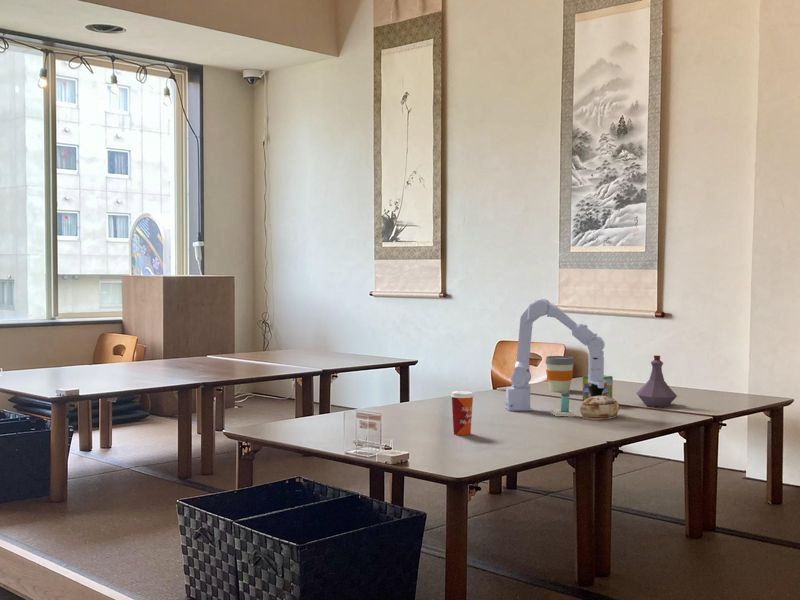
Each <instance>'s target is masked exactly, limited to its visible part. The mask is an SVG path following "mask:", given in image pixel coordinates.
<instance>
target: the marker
mask: <svg viewBox="0 0 800 600" xmlns="http://www.w3.org/2000/svg"><path fill="white" fill-rule="evenodd" d="M560 393H561V397H560V410H561V412H569V410H570V396H571V394H570V393H571V392H560Z"/></svg>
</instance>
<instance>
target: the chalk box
mask: <svg viewBox="0 0 800 600" xmlns="http://www.w3.org/2000/svg"><path fill="white" fill-rule="evenodd" d="M613 378H614V377H613V376H612V375H605V374H604V380H606V381H607V382H606V383H604V390H603V392H602V394H601V396H608V397H611V398H613V382H614V380H613ZM591 385H592V384H591V383H588V375H582V402H583V401H584V400H586V399H587V398H589V397H591V395H590V392H589V389H588V387H587V386H591Z"/></svg>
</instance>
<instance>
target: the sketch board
mask: <svg viewBox="0 0 800 600" xmlns="http://www.w3.org/2000/svg"><path fill="white" fill-rule="evenodd" d="M549 413H550V414H551V415H552V414H553V415H552V416H554V415H555V416H568V417H575V413H574V412H573V411H571V410H570V409H569V412H561V409H550V411H549ZM555 416H554V417H555Z"/></svg>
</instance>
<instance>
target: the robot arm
mask: <svg viewBox="0 0 800 600" xmlns="http://www.w3.org/2000/svg"><path fill="white" fill-rule="evenodd" d="M545 316H546V317H547V318H549V317H550V318H555V319H556V320H558V321H559V322H560V323H562V324H563V325H564V326H565V327H566V328H568V329H569V330H571V333H572V334H571V335H572V337H574V338H575V339H576V340H578V341H579V342H580V343H581V344H582V345H583V346H587V349H588V367H587V368H588V372H587V373H588V383H591V384H592V385H591V386H587V387H588V389H589V392H590V395H591V397H593V396H601V394H602V392H603V390H604V383H606V382H607V381H606V380H604V375H605V374H604V372H605V371H604V370H605V367H604V366H605V356H604V348H605V346H606V345H605V344H606V343H605V341H604V339H603V338H602V337H600V336H598V333H594V332H593V331H592V330H591V329H589V328H588V327H589V326H588V325H587V324H583V323H577V322H575V321H574V319H572V318H571V317H570V316H569V315H568V314H566V313H565V312H564V311H563V310H561V309H560V308H559V307H558V306H556V304H554V303H551V302H550V301H549V300H548V299H545V298H541V299H538V300H535V301H533V302H531V303H529V306H528V307H527V308H526V309H525V311H524V312H523V313H522V314H521V316H520V319H519V330H518V341H517V350H516V351H517V352H516V361H515V365H514V370H513V373H512V374H511V376H510V381H511V383H512V384H511V386H507V387H505V406H504V407H505V409H506V410H507V411H509V412H512V411H513V412H515V411H516V412H517V411H525V412H526V411H531V412H533V410H534V409H533V408H532V407H531V384H530V381H531V380H532V374H531V372H530V367H531V366H530V357H531V356H530V355H531V343H532V333H533V323H534V322H536V321H537V320H538V319H540V318H541V317H545Z"/></svg>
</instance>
